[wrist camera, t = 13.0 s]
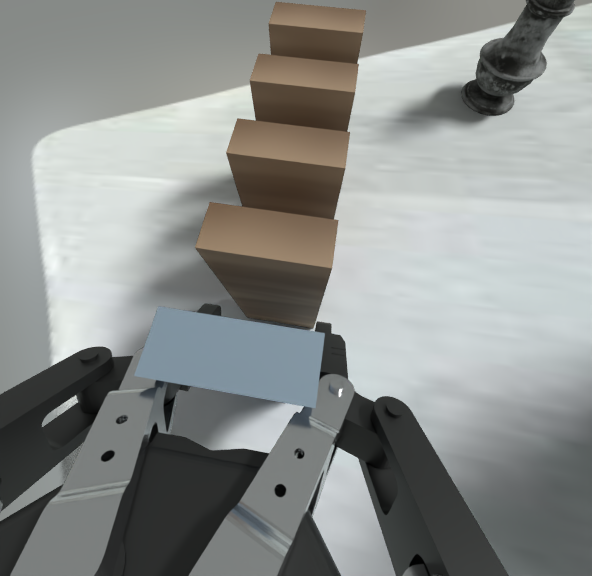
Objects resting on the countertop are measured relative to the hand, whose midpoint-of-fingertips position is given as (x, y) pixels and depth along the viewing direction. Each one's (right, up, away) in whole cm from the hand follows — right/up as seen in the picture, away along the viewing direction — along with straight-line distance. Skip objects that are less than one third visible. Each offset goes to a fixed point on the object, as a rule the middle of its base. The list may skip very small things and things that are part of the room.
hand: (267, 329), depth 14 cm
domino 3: (+1, +5, +8) cm, 9 cm away
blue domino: (0, -3, +4) cm, 6 cm away
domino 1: (+3, +13, +11) cm, 17 cm away
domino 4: (0, 0, +7) cm, 7 cm away
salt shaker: (+21, +22, +15) cm, 34 cm away
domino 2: (+2, +9, +10) cm, 13 cm away
